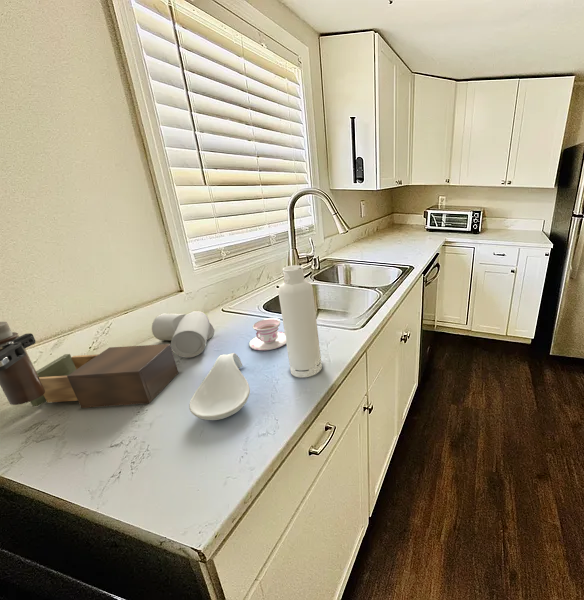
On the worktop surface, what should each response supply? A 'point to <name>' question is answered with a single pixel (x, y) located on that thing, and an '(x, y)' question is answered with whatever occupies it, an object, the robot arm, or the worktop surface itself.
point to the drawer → (59, 378)
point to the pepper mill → (19, 374)
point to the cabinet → (124, 376)
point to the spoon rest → (221, 390)
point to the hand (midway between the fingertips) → (16, 338)
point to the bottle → (299, 322)
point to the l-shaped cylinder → (184, 332)
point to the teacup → (267, 335)
